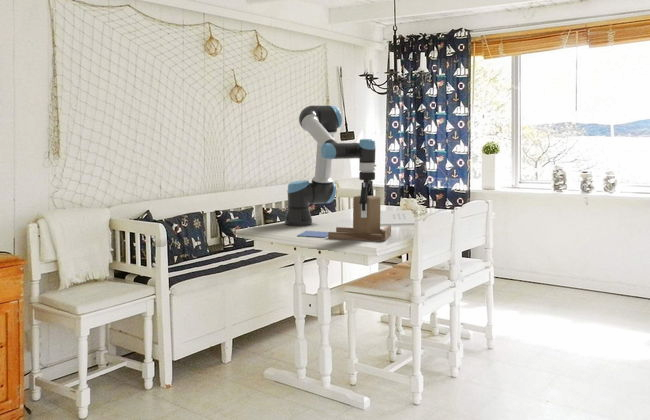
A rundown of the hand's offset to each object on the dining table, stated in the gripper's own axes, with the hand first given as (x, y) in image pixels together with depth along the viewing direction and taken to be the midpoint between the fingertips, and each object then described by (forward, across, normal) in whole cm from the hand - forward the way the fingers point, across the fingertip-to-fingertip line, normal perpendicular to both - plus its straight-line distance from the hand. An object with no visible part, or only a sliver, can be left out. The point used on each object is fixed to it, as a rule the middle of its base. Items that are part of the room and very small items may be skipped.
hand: (367, 215), depth 307 cm
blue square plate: (+10, 0, +26) cm, 28 cm away
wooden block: (+11, 0, 0) cm, 11 cm away
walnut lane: (+11, 0, +4) cm, 11 cm away
